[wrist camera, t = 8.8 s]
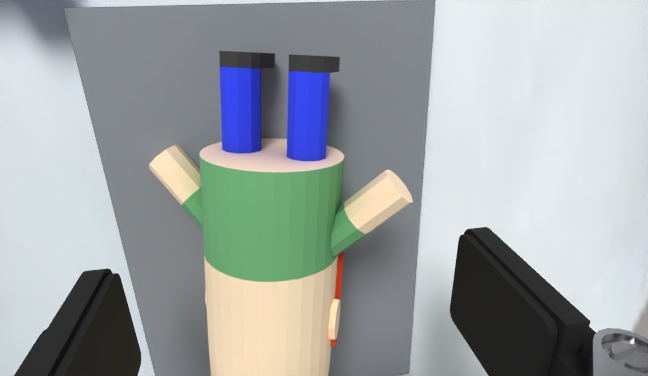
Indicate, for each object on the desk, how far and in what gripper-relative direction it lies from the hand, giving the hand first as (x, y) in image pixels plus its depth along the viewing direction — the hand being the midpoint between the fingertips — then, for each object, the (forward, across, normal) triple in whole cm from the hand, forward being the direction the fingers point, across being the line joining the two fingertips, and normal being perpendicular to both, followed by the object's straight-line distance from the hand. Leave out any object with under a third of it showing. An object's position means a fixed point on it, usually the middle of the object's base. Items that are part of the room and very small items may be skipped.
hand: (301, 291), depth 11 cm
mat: (+5, 0, +1) cm, 5 cm away
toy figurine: (+4, +1, 0) cm, 5 cm away
